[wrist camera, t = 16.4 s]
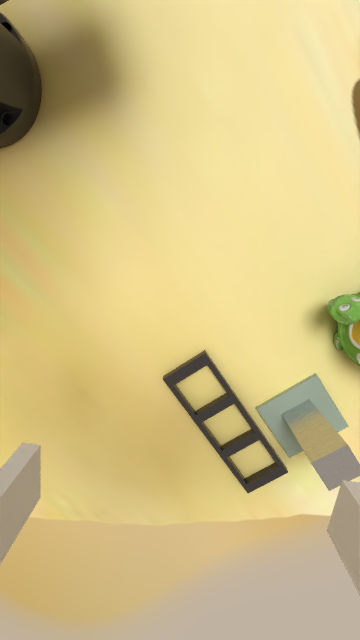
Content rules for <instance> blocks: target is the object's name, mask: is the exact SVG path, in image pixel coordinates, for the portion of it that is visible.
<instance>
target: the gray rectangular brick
mask: <svg viewBox="0 0 360 640" xmlns="http://www.w3.org/2000/svg"><path fill="white" fill-rule="evenodd" d="M282 415H283V417H284V419H285V420H286V422H287V424H288V425H289V427H290V429H291V430H292V432H293V434H294V435H295V437H296V439H297V440H298V442H299V444H300V446H301V447H302V449H303V451H304V452H305V454H306V456H307V457H308V459H309V461H310V462H311V464H312V465H313V467H314V468H315V470H316V472H317V473H318V475H319V476H320V478H321V479H322V481H323V482H324V484H325V485H326V487H327V488H328V490H329V491H330V490H332V489H334V488H336V487H338V486H340V485H341V483H342V480H343V481H350V480H352V479H354V478H356V477H358V476H360V464H359V462H358V461H357V459H356V457H355V456H354V454H353V452H352V451H351V449H350V448H349V446H348V444H347V443H346V442H345V441H344V440H343V438H342V437H341V436H340V435H339V434H338V432H337V431H336V430H335V429H334V428H333V427H332V425H331V424H330V423H329V422H328V421H327V419H326V418H325V417H324V416H323V415H322V414H321V412H320V411H319V410H318V409H317V408H316V406H315V405H314V404H313V403H312V402H311V401H310V399H308V400H306V401H304V402H302V403H301V404H299V405H297V406H295V407H293V408H292V409H290V410H288V411H286V412H284V413H282Z"/></svg>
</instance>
